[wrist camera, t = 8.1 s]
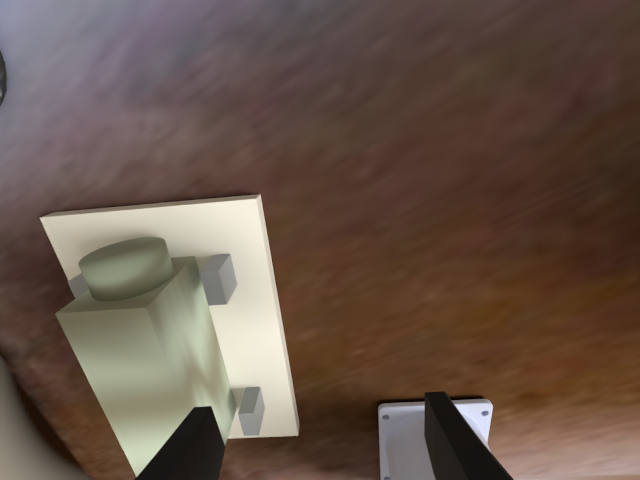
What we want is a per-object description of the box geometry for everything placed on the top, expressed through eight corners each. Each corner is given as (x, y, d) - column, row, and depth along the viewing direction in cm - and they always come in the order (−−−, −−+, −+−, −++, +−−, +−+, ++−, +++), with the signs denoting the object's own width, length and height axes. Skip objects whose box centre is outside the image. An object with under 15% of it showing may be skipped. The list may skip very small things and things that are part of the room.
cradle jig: (299, 423, 24) (295, 464, 21) (149, 429, 24) (126, 470, 22) (260, 193, 17) (246, 209, 14) (54, 212, 18) (3, 230, 15)
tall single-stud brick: (236, 408, 22) (211, 487, 17) (182, 411, 22) (143, 490, 17) (187, 229, 17) (133, 273, 12) (117, 235, 17) (38, 280, 12)
